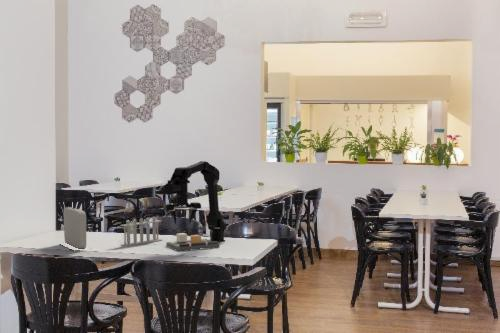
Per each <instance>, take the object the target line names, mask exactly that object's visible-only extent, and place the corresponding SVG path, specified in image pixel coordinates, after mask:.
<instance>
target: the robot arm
mask: <svg viewBox="0 0 500 333" xmlns="http://www.w3.org/2000/svg"><path fill="white" fill-rule="evenodd" d="M198 172H200V174H201V175H202V176H203V180H204V182H205V184H206V185H207V195H208V206H209V207H208V209H209V210H208V211H209V212H208V214H206V215H205V218H206V219H205V220H206V225H207V228H208V230H210V232H209V233H210V234H209V235H210V236H209V240H210V241H213V242H214V241H217V242H218V243H219V242H225V241H226V239H225V232H224V231H225V230H227V228H228V227H227V224H226V222H224V219H223V214H222V213H221V212H220V209H219V206H220V205H219V195H218V194H219V193H218V183H219V181H220V174H221V173H220V170H219V169H218V168H216V166H214V165H212V164H211V163H210V162H208V161H206V160H204V161H203V160H202V161H198V162H196V163H194V164H191V165H188V166H185V167H184V166H183V167H182V166H181V167H175V169H174V171H173V173H172V175H171V177H170V180H167V183H165V185H164V191H165V193H166V194H167V195H173V194H174V195H175V196H169V197H168V203H164V204H163V205H162V211H163V210H164V211H166V212H169V213H170V215H171V218H172V220H173V224H174V225H176V224H177V210H176V209H187V210H188V223H189V224H190V223H191V222H192V219H193V218H194V215H195V213H196V212H197V211H198V210H199V209H200V210H201V209H202V204H201V203H200V202H195V201H194V202H190V203H189V198H188V197H189V193H188V191H189V189H188V184H190V183H191V181H190V180H189V179H190V178H191V177H192V175H193V174H197V173H198Z"/></svg>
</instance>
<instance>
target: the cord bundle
mask: <svg viewBox="0 0 500 333" xmlns="http://www.w3.org/2000/svg"><path fill="white" fill-rule="evenodd" d="M218 243H219V242H217V241H214V242H207V241H204V242H202V243H188V244H180V245H179V247H185V246H196V245H208V244H218Z"/></svg>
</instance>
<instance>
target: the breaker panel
mask: <svg viewBox="0 0 500 333" xmlns="http://www.w3.org/2000/svg"><path fill="white" fill-rule="evenodd" d="M204 241H207V242H213V241H210V239H207V238H201V243H202V242H204ZM188 243H191V239H189V240H188V239H187V242H177V240H176V241H167V242H166V243H165V244H166V245H165V246H166V247H167V246H168V248H170V249H172V248H173V249H172V250H175V249H176V250H175V251H177V250H179V251H178V252H181V251H180V250H188V251H192V250H191V249H198V250H201V249H200V248H209V249H217V248H216V247H219V248H220V243H219V242H218V244H208V245H196V246H185V247H179V245H180V244H188Z"/></svg>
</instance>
